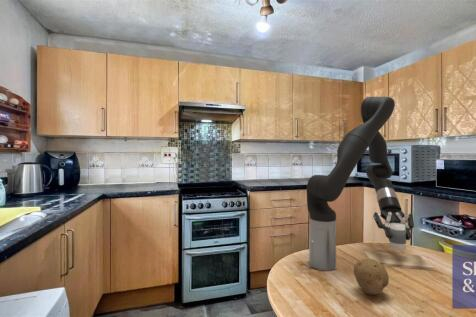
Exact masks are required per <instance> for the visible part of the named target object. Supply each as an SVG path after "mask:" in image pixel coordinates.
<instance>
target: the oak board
mask: <svg viewBox="0 0 476 317" xmlns="http://www.w3.org/2000/svg"><path fill="white" fill-rule="evenodd" d="M363 253H364V255H365V257H366V258H370V259H374V260H376V261H377V262H379V263H380V264H381V265H382V266H383V267H384V266H385V267H393V268H404V269H412V270H413V269H415V270H423V271H424V270H425V271H435V269H436V268H435V267H434V265H432V264H431V263H429V262H428V261H427V260H426V259H424V258H423V257H422V256H421V255H415V254H405V253H392V252H391V253H390V252H380V251H371V250H370V251H368V250H364V251H363Z"/></svg>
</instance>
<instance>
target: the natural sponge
mask: <svg viewBox="0 0 476 317" xmlns="http://www.w3.org/2000/svg"><path fill="white" fill-rule="evenodd" d="M353 274H354V278H355V281H356V282H357V284H358V286H359V288H360V289H362V290H363V291H364V293H366V294H368V295H369V296H372V295H373V296H374V295H379V294H381V293H382V292H383V290H384V289H385V288H386V287H388V285H389V281H390V279H389V278H390V276H389V273H388V272H387V269H386V268H385V267H384V266H382V265H381V264H380V263H379V262H377V261H376V260H374V259H370V258H367V257H366V258H362V259H359V260H358V261H357V262H355V264H354V267H353Z"/></svg>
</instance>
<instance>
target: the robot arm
mask: <svg viewBox="0 0 476 317" xmlns="http://www.w3.org/2000/svg"><path fill="white" fill-rule="evenodd" d="M395 103H396V102H395V100H394V99H393V98H392V97H389V96H366V97H365V98H364V99H363V100H362V102H361V104H360V114H361V120H362V124H360V125H358V126H356V127H354V128H353V129H351V130H350V131H348V132H347V133H346V134H345V135H344V137H343V139H342V140H341V141H340V143H339V144H338V147H337V151H336V153H337V154H336V156H337V158H336V164H335V165H334V167H333V169H332V170H331V171H330V173H329V174H327V175H324V174H314V175H312V176H310V177H309V179H308V181H307V184H306V204H307V206H306V207H307V210H308V214H309V235H308V250H309V251H308V262H309V267H310V268H312V269H313V268H314V269H316V270H320V271H325V272H326V271H327V272H328V271H329V272H330V271H333V270H335V269H336V268H337V213H336V211H335V210H334V209H333V208H332V207H330V205H329V202H330V203H333V202H334V201H336V200H338V198H339V197H340V196H341V194H342V192H343V190H344V188H345V187H346V184H347V182H348V180H349V178H350V177H351V175H352V172H353V171H354V169H355V168H356V166H357V164H358V163H359V161H360V159H361V158H362V157H363V155H364V154H365V152H366V151H367V149H368V155H369V156H368V157H369V160H370V162H372V163H374V164H369V165H368V166H367V167H366V169H365V174H366V176H367V178H368V179H369V181H370V183H371V184H372V185H373V186H374V187H373V188H374V191H375V194H376V201H377V204H378V207H379V211H380V213H379V212H374V213H373V215H372V217H373V219H374V221H375V224H376V226H377V228H378V229H382V230H383V231H384V234H385V237H386V238H387V239H388V240H389V239H391V237H392V236H391V232H390V229H389V227H390V223H400V224H404V225H405V229H406V241H410V240H411V238H412V233H411V231H412V230H413V229H414V227H415V223H414V222H415V221H414V215H413V213H409V214H406V213H404V212H403V210H402V207H401V204H400V201H399V197H398V195H397V193H396V191H395V188H394V184H393V183H392V181H391V180H390V178H391V177H392V176H393V169H392V166H391V164H390V163H389V158H388V145H387V141H386V139H385V138H384V136H383V135H382V134H381V132H380V130H381V129H382V128H383V127H384V125H385V124H386V123H387V122H388V121H389V119H390V118H391V116H392V115H393V112H394V110H395ZM381 218H382V219H383V220H384V224H383V222H382V220H381ZM404 218H405V219H404ZM406 222H407V223H406Z"/></svg>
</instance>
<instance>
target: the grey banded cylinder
mask: <svg viewBox="0 0 476 317" xmlns="http://www.w3.org/2000/svg"><path fill="white" fill-rule="evenodd" d="M388 228H389V229H390V232H391V236H392V237H391V239H388V241H389V248H390V249H391V250H395V251H405V250H406V244H407V240H406V229H405V225H404V224H400V223H390V224H389V226H388Z"/></svg>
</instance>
